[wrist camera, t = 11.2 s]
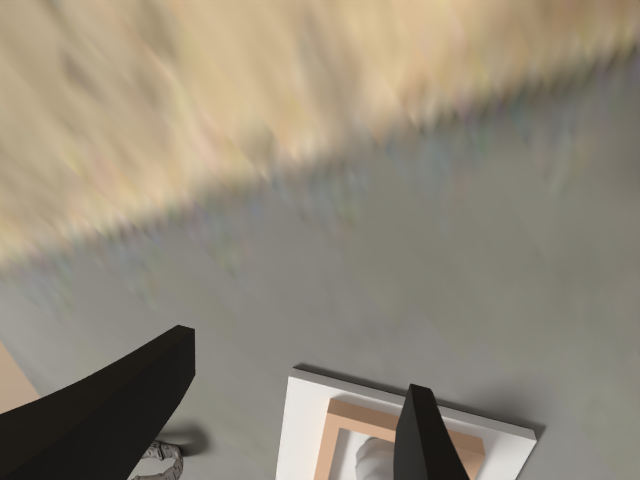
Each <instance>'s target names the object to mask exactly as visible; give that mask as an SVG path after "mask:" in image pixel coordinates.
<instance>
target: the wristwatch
mask: <svg viewBox="0 0 640 480" xmlns="http://www.w3.org/2000/svg"><path fill="white" fill-rule="evenodd" d="M171 457H172V458H173V459H176V461H175V463H174V465H173V466H172V467H170V468H169V469H168V470H166V471H165V472H164V473H159V474H157V475H152V476H140V477H139V476H138V475H137V476H135V478H134V479H132V480H178V479H179V478H180V476H181V474H182V471H183V457H182V455H181V452H180V451H179V448H178V447H177V445H171V444H165V443H161V442H156V441H153V442H152V444H151V445H150V447H149V448H148V449H147V451H146V452H145V454H144V455H143V456H142V458H141V459H145V458H157V459H159V460H161V461H162V460H164V458H171Z"/></svg>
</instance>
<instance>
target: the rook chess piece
mask: <svg viewBox="0 0 640 480" xmlns="http://www.w3.org/2000/svg"><path fill="white" fill-rule="evenodd" d="M394 445H395V442H391V441H388V440H384V439H380V438H373V439H371V440H369V441H367V442H366V443H364V444H363V445H362V446H361V447H360V448H359V449H358V451H357V453H356V463H357V464H356V466H355V471H356V479H357V480H394V479H393V458H394Z"/></svg>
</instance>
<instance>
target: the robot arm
mask: <svg viewBox="0 0 640 480" xmlns="http://www.w3.org/2000/svg"><path fill="white" fill-rule="evenodd" d="M194 376H195V329H193V328H189V327H185V326H181V325H177V326H175V327H173V328H172V329H170V330H168V331H167V332H165V333H163V334H162V335H160V336H158V337H157V338H155V339H153V340H152V341H150V342H148V343H147V344H145V345H143V346H142V347H140V348H138V349H137V350H135V351H133V352H131V353H130V354H128V355H126V356H125V357H123V358H121V359H119V360H118V361H116V362H114V363H112V364H110V365H108V366H107V367H105V368H103V369H101V370H99V371H97V372H95V373H93V374H92V375H90V376H88V377H86V378H84V379H82V380H80V381H78V382H76V383H74V384H72V385H70V386H67V387H65V388H63V389H61V390H59V391H56V392H54V393H52V394H50V395H47V396H45V397H43V398H40V399H38V400H36V401H33V402H31V403H28V404H25V405H23V406H20V407H18V408H15V409H13V410H10V411H8V412H5V413H2V414H0V480H127V479H128V477H129V475H130V474H131V472H132V471H133V469H134V468H135V466H136V465H137V463H138V462H139V461H140V459H141V458H142V456H143V455H144V454H145V452H146V451H147V449H148V448H149V447H150V445H151V444H152V442H153V441H154V439H155V438H156V437H157V435H158V434H159V432H160V431H161V430H162V428H163V427H164V425H165V424H166V423H167V421H168V420H169V418H170V417H171V415H172V414H173V412H174V411H175V410H176V408H177V407H178V405H179V404H180V402H181V400H182V399H183V397H184V395H185V393H186V391H187V390H188V388H189V386H190V384H191V382H192V380H193V378H194ZM393 479H394V480H470V478H469V476H468V474H467V472H466V470H465V468H464V466H463V464H462V462H461V460H460V457H459V455H458V453H457V451H456V449H455V447H454V444H453V442H452V440H451V438H450V435H449V433H448V431H447V428H446V426H445V424H444V421H443V419H442V416H441V414H440V411H439V408H438V406H437V403H436V400H435V398H434V395H433V392H432V391H431V389H430V388H426V387H422V386H418V385H414V384H410V386H409V389H408V392H407V395H406V399H405V402H404V405H403V408H402V411H401V414H400V417H399V420H398V424H397V427H396V433H395V445H394V458H393Z"/></svg>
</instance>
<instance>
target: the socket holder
mask: <svg viewBox="0 0 640 480" xmlns="http://www.w3.org/2000/svg"><path fill="white" fill-rule="evenodd" d="M405 399H406V397H403V396H399V395H396V394H392V393H388V392H384V391H380V390H376V389H372V388H368V387H365V386H361V385H357V384H353V383H349V382H345V381H341V380H337V379H334V378H330V377H326V376H322V375H318V374H314V373H310V372H306V371H303V370H299V369H295V368H292V369H291V372H290V375H289V380H288V387H287V395H286V403H285V411H284V419H283V426H282V434H281V442H280V450H279V457H278V465H277V473H276V480H357V479H356V471H355V466H356V464H357V463H356V453H357V451H358V449H359V448H360V447H361V446H362V445H363V444H364V443H366V442H367V441H369V440H371V439H373V438H380V439H384V440H388V441H391V442H395V433H396V427H397V424H398V420H399V417H400V414H401V411H402V408H403V405H404V402H405ZM437 406H438V405H437ZM438 408H439V411H440V414H441V416H442V419H443V421H444V424H445V426H446V428H447V431H448V433H449V435H450V438H451V440H452V442H453V444H454V447H455V449H456V451H457V453H458V455H459V457H460V460H461V462H462V464H463V466H464V468H465V470H466V472H467V474H468V476H469V478H470V480H515V478H516V477H517V475H518V473H519V471H520V470H521V468H522V466H523V464H524V463H525V461H526V459H527V457H528V456H529V454H530V452H531V450H532V449H533V447H534V445H535V443H536V442H537V440H536V437H535V434H534V431H533V430H531V429H527V428H523V427H520V426H516V425H512V424H508V423H504V422H500V421H496V420H492V419H489V418H485V417H481V416H477V415H473V414H469V413H465V412H461V411H458V410H454V409H450V408H446V407H442V406H438Z"/></svg>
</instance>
